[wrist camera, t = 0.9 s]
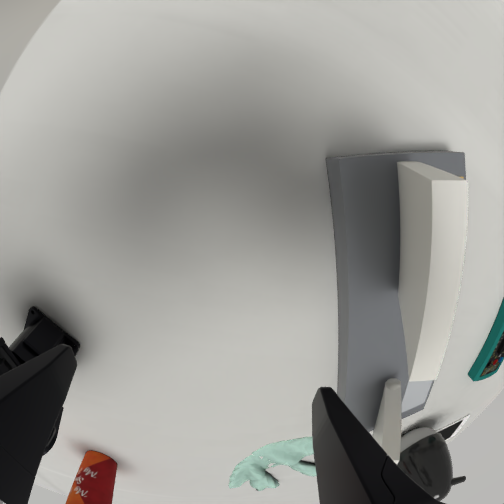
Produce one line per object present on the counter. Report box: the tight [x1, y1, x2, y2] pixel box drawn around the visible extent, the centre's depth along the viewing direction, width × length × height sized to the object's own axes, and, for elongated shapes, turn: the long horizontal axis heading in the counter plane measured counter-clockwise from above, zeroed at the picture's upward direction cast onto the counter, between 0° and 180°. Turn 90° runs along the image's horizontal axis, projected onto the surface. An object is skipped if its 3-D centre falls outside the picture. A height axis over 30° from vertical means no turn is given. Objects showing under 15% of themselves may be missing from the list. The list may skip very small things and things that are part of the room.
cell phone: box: [436, 414, 470, 440], centre depth 37 cm, size 8×16×1 cm, turn 89°
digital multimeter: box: [468, 299, 504, 381], centre depth 27 cm, size 7×15×3 cm, turn 175°
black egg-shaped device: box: [397, 427, 466, 501], centre depth 27 cm, size 10×10×15 cm
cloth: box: [229, 437, 317, 491], centre depth 32 cm, size 20×22×2 cm
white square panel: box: [397, 161, 468, 382], centre depth 14 cm, size 2×10×10 cm, turn 10°
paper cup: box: [66, 451, 117, 504], centre depth 24 cm, size 8×8×14 cm
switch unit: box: [326, 151, 466, 432], centre depth 23 cm, size 12×31×3 cm, turn 10°
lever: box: [373, 378, 401, 464], centre depth 20 cm, size 2×10×10 cm, turn 10°
